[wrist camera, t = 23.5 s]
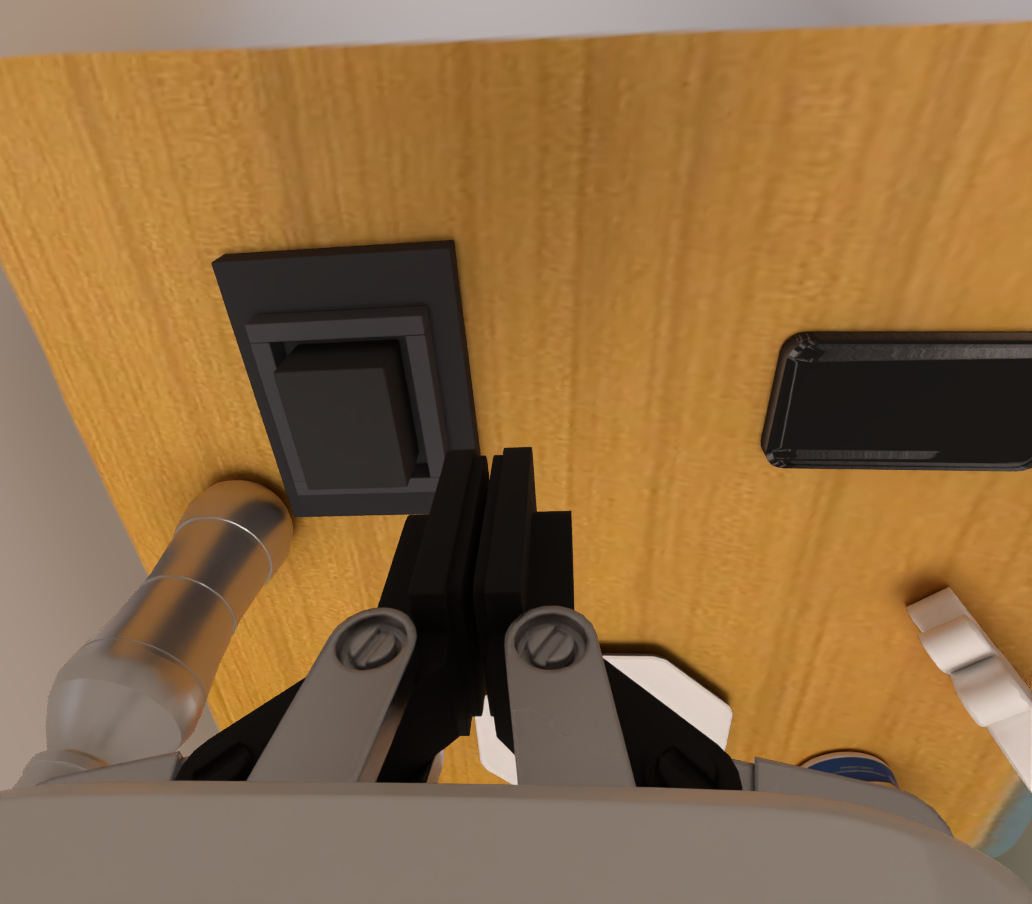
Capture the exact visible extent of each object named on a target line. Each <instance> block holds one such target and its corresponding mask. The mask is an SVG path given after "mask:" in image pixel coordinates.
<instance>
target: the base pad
mask: <svg viewBox="0 0 1032 904" xmlns="http://www.w3.org/2000/svg"><path fill="white" fill-rule="evenodd" d="M212 267H213V270H214V273H215V276H216V279H217V282H218V285H219V288H220V291H221V294H222V297H223V300H224V303H225V306H226V309H227V313H228V316H229V319H230V322H231V325H232V328H233V331H234V334H235V337H236V340H237V343H238V346H239V349H240V352H241V355H242V358H243V361H244V364H245V368H246V371H247V374H248V377H249V380H250V383H251V386H252V389H253V392H254V395H255V398H256V401H257V404H258V407H259V410H260V413H261V416H262V419H263V422H264V426H265V429H266V432H267V435H268V438H269V441H270V444H271V447H272V450H273V453H274V456H275V459H276V462H277V465H278V468H279V471H280V474H281V477H282V481H283V484H284V487H285V490H286V493H287V496H288V499H289V502H290V505H291V508H292V511H293V514H294V517H321V516H363V515H404V514H429V513H430V510H431V506H432V502H433V499H434V495H435V492H436V488H437V484H438V481H439V477H440V474H441V470H442V466H443V463H444V459H445V456H446V452H447V450H456V449H475V450H476V452H477V456H480V448H479V440H478V432H477V423H476V415H475V407H474V399H473V391H472V383H471V375H470V367H469V359H468V351H467V342H466V334H465V326H464V318H463V310H462V302H461V294H460V286H459V278H458V269H457V261H456V253H455V245H454V241H453V240H449V241H433V242H417V243H401V244H384V245H368V246H352V247H336V248H320V249H304V250H288V251H271V252H255V253H239V254H224V255H223V256H221V257H220V258H218V259H216V260H215V261H213V262H212ZM386 340H398V341H399V345H400V350H401V355H402V361H403V366H404V372H405V377H406V383H407V388H408V394H409V399H410V405H411V410H412V415H413V421H414V426H415V432H416V437H417V443H418V448H419V454H418V457H417V460H416V463H415V466H414V469H413V472H412V475H411V478H410V480H409V483H408V486H407V487H395V488H359V489H323V490H309V489H308V487H307V484H306V481H305V477H304V474H303V471H302V467H301V464H300V461H299V458H298V454H297V451H296V448H295V444H294V441H293V438H292V435H291V431H290V428H289V425H288V421H287V418H286V415H285V411H284V408H283V405H282V402H281V398H280V395H279V392H278V388H277V385H276V382H275V379H274V375H273V372H274V371H275V370H276V369H277V368H278V366H279V365H280V364H281V363H282V362H283V361H284V360H285V358H286V357H287V356H288V355H289V354H290V353H291V352H292V350H293V349H294V348H295V347H296V346H297V345H303V344H324V343H345V342H365V341H386Z"/></svg>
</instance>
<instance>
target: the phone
mask: <svg viewBox="0 0 1032 904" xmlns="http://www.w3.org/2000/svg"><path fill="white" fill-rule="evenodd" d="M761 447H762V449H763V452H764V454H765V456H766V458H767V460H768V461H769V462H770V463H771V464H772V465H773V466H775V467H778V468H804V469H879V470H952V471H1024V470H1027V469H1030V468H1032V332H805V333H800V334H797V335H795V336H793V337H791V338H790V339H789V340H787V341H786V343H785V344H784V345H783V347H782V349H781V352H780V355H779V360H778V365H777V369H776V374H775V379H774V383H773V388H772V393H771V397H770V402H769V407H768V412H767V416H766V421H765V426H764V430H763V435H762V440H761Z"/></svg>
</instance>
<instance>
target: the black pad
mask: <svg viewBox="0 0 1032 904" xmlns="http://www.w3.org/2000/svg"><path fill="white" fill-rule="evenodd" d="M273 375H274V379H275V382H276V385H277V388H278V392H279V395H280V398H281V402H282V405H283V408H284V411H285V415H286V418H287V421H288V425H289V428H290V431H291V435H292V438H293V441H294V444H295V448H296V451H297V454H298V458H299V461H300V464H301V467H302V471H303V474H304V477H305V481H306V484H307V487H308V489H309V490H323V489H359V488H395V487H407V486H408V483H409V480H410V478H411V475H412V472H413V469H414V466H415V463H416V460H417V457H418V454H419V448H418V443H417V437H416V432H415V426H414V421H413V415H412V410H411V405H410V399H409V394H408V388H407V383H406V377H405V372H404V366H403V361H402V355H401V350H400V345H399V341H398V340H386V341H365V342H345V343H324V344H303V345H297V346H296V347H295V348H294V349H293V350H292V352H291V353H290V354H289V355H288V356H287V357H286V358H285V360H284V361H283V362H282V363H281V364H280V365H279V366H278V368H277V369H276V370H275V371H274V372H273Z"/></svg>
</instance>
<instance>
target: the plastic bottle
mask: <svg viewBox="0 0 1032 904" xmlns="http://www.w3.org/2000/svg"><path fill="white" fill-rule="evenodd" d="M293 530H294V529H293V523H292V520H291V517H290V514H289V512H288V509H287V507H286V506H285V504H284V503H283V501H282V500H281V499H280V498H279V497H278V496H277V495H276V494H275V493H273V492H272V491H271V490H269V489H268V488H266V487H264V486H262V485H260V484H257V483H255V482H251V481H247V480H230V481H222V482H219V483H215V484H213V485H211V486H210V487H208V488H207V489H206V490H204V491H203V492H202V493H201V494H199V495H198V496H197V497H196V498H195V499H194V500H193V501H192V502H191V503H190V504H189V505H188V507H187V509H186V511H185V513H184V514H183V516H182V518H181V520H180V522H179V524H178V526H177V528H176V531H175V533H174V537H173V539H172V540H171V542H170V544H169V545H168V547H167V548H166V550H165V552H164V553H163V555H162V556H161V558H160V560H159V561H158V563H157V565H156V566H155V568H154V569H153V571H152V573H151V574H150V575H149V576H148V578H147V579H146V580H145V581H144V582H143V583H142V585H141V586H140V588H139V589H138V590H137V591H136V592H135V593H134V594H133V595H132V596H131V598H130V599H129V600H128V601H127V602H126V603H125V604H124V606H123V607H122V608H121V609H120V610H119V611H118V613H117V614H116V615H115V616H114V617H113V618H112V619H111V620H109V621H108V622H107V623H106V624H105V625H104V626H103V627H102V628H101V629H100V630H99V631H98V632H97V633H96V634H95V635H94V636H93V637H92V638H91V639H90V640H89V641H88V642H87V643H86V644H85V645H84V646H83V647H81V648H80V649H79V650H78V651H77V652H76V653H75V654H74V655H73V656H72V657H71V658H70V659H69V660H68V662H67V663H66V664H65V665H64V666H63V667H62V668H61V669H60V671H59V672H58V674H57V676H56V678H55V681H54V684H53V686H52V688H51V691H50V694H49V696H48V705H47V717H46V738H47V750H46V751H45V752H41V753H38V754H36V755H35V756H34V757H32V759H31V760H30V761H29V763H28V764H27V765H26V766H25V768H24V770H23V775H22V776H21V777H20V779H19V780H18V781H17V783H16V784H15V785H14V787H13V788H12V789H17V788H24V787H31V786H35V785H37V784H38V783H40V782H43V781H45V780H48V779H51V778H54V777H57V776H61V775H66V774H71V773H76V772H80V771H85V770H90V769H95V768H100V767H105V766H109V765H114V764H119V763H124V762H129V761H134V760H138V759H143V758H148V757H153V756H158V755H163V754H167V753H172V752H176V751H177V750H178V749H179V748H180V747H181V746H182V745H183V744H184V743H185V741H186V740H187V739H188V738H189V737H190V736H191V735H192V733H193V732H194V730H195V728H196V725H197V723H198V721H199V719H200V717H201V714H202V711H203V708H204V706H205V703H206V700H207V697H208V694H209V692H210V689H211V686H212V683H213V680H214V678H215V675H216V672H217V669H218V666H219V664H220V662H221V659H222V657H223V655H224V653H225V651H226V649H227V647H228V645H229V643H230V640H231V637H232V635H233V634H234V632H235V630H236V628H237V626H238V624H239V622H240V619H241V618H242V617H243V615H244V614H245V612H246V611H247V609H248V608H249V606H250V605H251V603H252V602H253V600H254V599H255V597H256V596H257V594H258V593H259V591H260V590H261V588H262V587H263V586H264V585H265V584H266V583H267V582H268V581H269V580H270V579H271V578H272V577H273V576H274V574H275V573H276V572H277V570H278V569H279V568H280V566H281V565H282V564H283V562H284V561H285V559H286V558H287V555H288V552H289V549H290V546H291V542H292V538H293Z"/></svg>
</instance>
